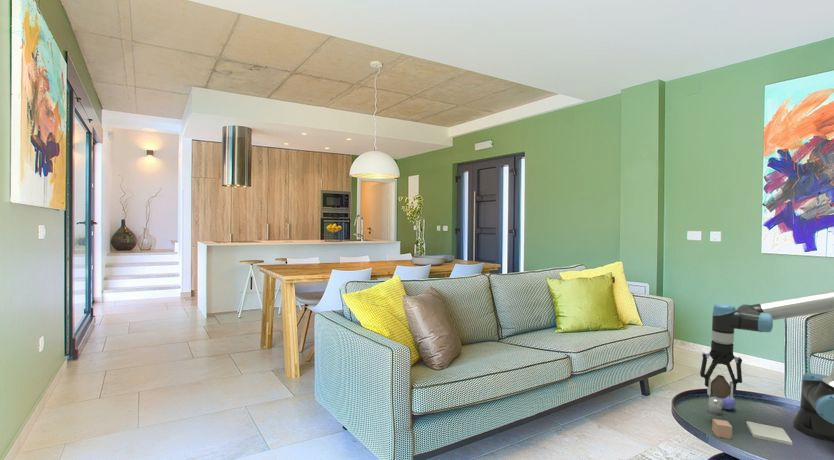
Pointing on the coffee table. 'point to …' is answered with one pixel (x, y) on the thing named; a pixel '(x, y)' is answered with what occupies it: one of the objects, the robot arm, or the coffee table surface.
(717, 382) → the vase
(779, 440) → the board
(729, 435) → the terracotta block
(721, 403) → the metal tin
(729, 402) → the sphere
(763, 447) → the coffee table surface
